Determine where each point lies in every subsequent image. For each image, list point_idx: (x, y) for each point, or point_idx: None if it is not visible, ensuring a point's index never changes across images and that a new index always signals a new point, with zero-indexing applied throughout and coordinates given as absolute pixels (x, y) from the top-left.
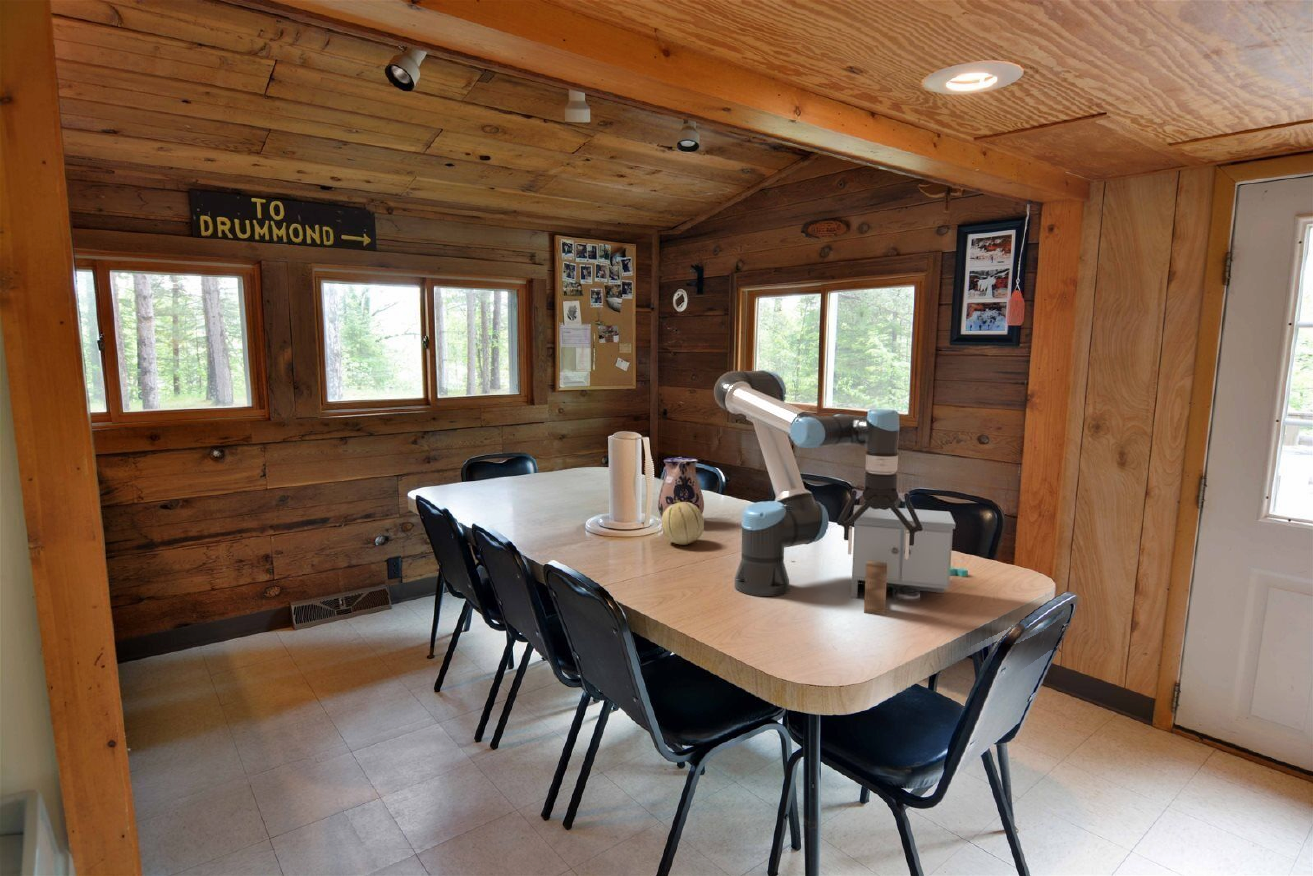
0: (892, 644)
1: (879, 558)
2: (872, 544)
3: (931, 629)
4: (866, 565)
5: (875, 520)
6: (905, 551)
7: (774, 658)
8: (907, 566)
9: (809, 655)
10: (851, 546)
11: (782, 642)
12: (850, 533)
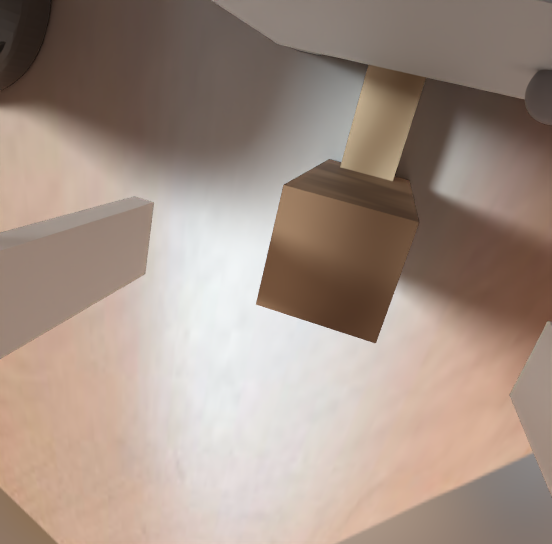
0: (331, 470)
1: (416, 56)
2: (347, 23)
3: (512, 384)
4: (261, 287)
5: None
6: (526, 432)
7: (60, 498)
8: None
9: (124, 496)
10: (122, 244)
11: (68, 433)
12: (20, 335)
